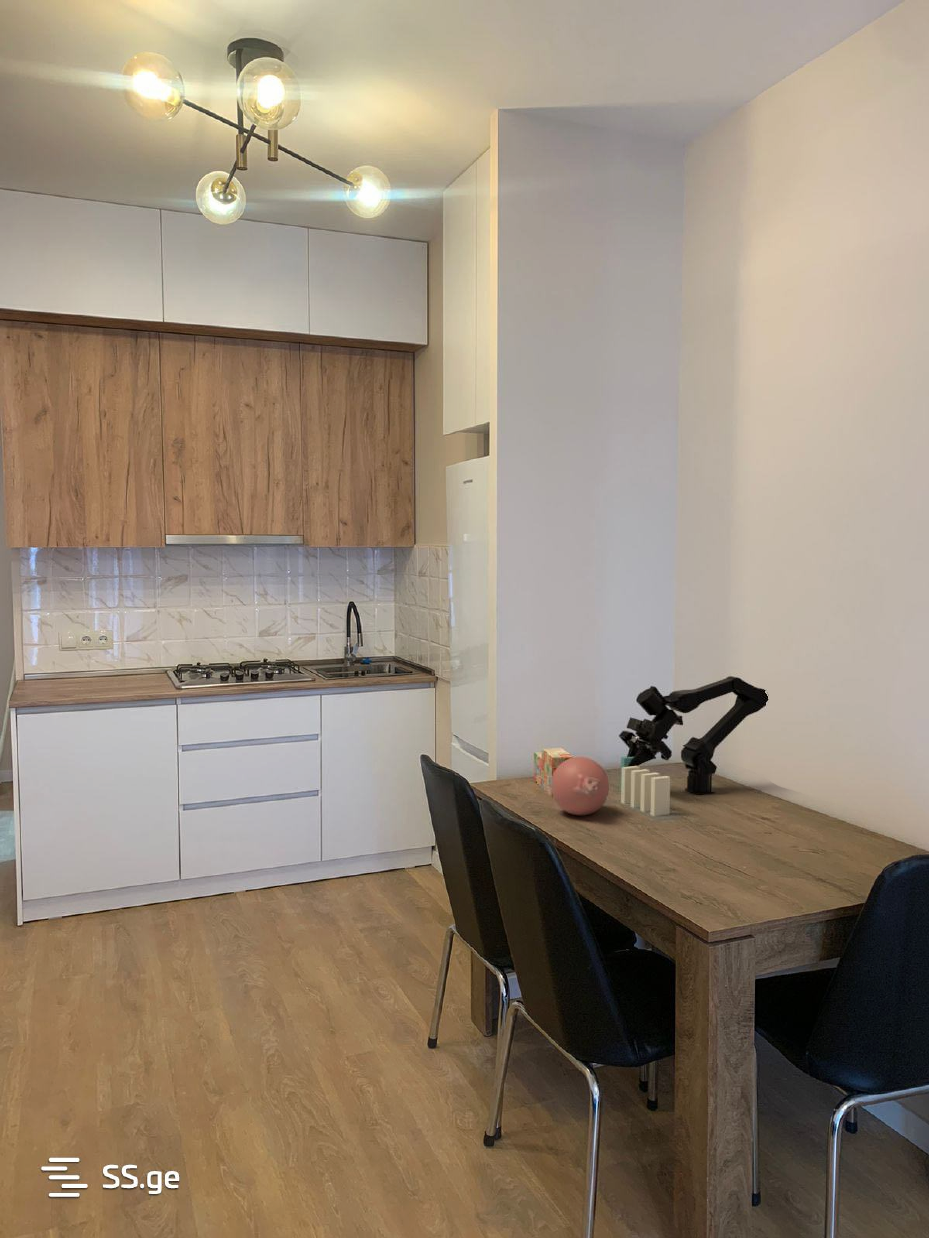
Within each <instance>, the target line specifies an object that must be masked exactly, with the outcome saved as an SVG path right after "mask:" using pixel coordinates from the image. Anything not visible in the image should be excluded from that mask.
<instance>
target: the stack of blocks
mask: <svg viewBox="0 0 929 1238" xmlns="http://www.w3.org/2000/svg"><path fill="white" fill-rule="evenodd" d="M570 758H574V756H573V755H571V753H569V752H568V751H567V750H565V749H563V748H562V747H554V748H552V747H551V748H547V747H546V748H541V751H539V752H537V751H536V752H533V762H534V763H533V764H534V765H533V766H534V768H533V771H534V775H533V778H534V779H533V781H534V780H535V781H537V783H536V785H537V784H539V785H540V786H541V787H543V788H544V790H546V792H547V793H548V794H549V795H550V796H551V797H553V795H552V791H551V780H552V776H553V774H554V772H555V770H556V769H557V767H558V766H559V765H560V764H561V763H563V762H564V761H566V760H568V759H570ZM546 792H545V793H546ZM547 793H546V794H547ZM548 794H547V795H548ZM549 795H548V796H549ZM550 796H549V797H550ZM551 797H550V798H551Z"/></svg>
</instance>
